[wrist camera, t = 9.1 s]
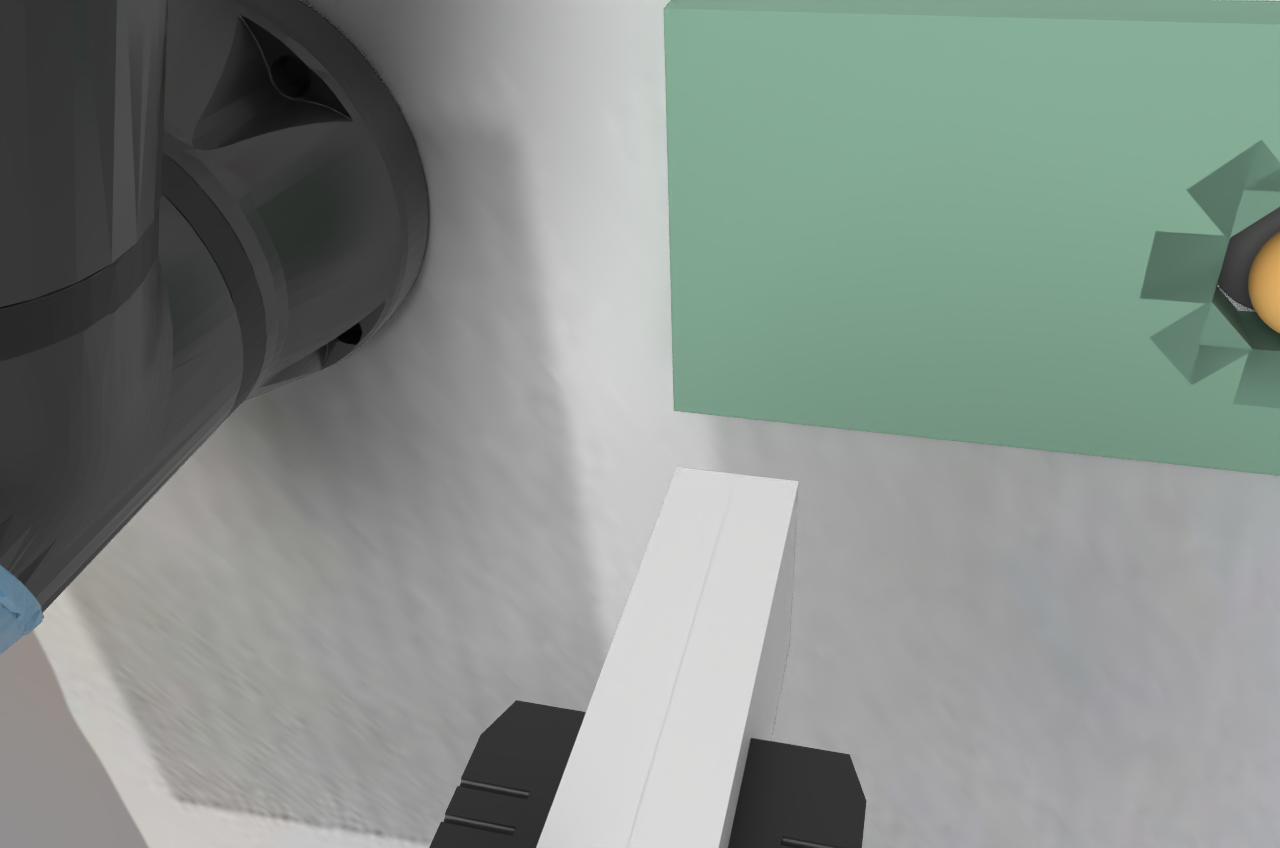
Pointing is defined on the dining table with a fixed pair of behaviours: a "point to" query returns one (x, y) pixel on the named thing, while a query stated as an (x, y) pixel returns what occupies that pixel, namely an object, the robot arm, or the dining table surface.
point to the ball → (1266, 282)
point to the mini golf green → (979, 220)
